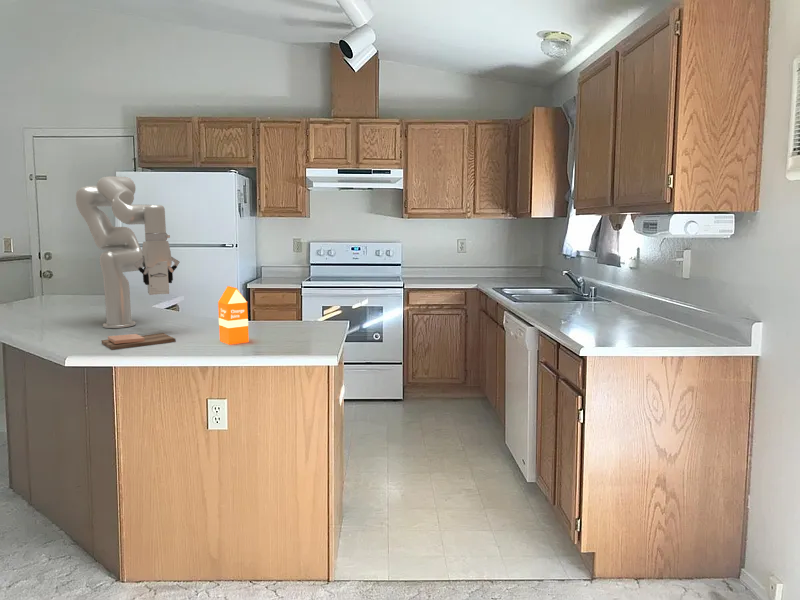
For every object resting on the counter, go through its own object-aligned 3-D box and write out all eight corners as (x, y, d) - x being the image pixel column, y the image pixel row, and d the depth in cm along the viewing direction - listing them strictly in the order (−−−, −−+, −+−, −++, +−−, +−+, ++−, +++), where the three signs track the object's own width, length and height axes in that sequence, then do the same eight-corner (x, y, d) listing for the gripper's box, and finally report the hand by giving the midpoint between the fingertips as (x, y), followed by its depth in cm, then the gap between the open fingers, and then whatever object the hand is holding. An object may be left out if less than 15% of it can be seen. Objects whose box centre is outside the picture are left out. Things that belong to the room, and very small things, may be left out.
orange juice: (228, 344, 239) (226, 288, 236) (219, 340, 246) (216, 286, 243) (249, 342, 243) (247, 287, 240) (239, 338, 250) (237, 284, 247)
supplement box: (149, 295, 254) (146, 262, 252) (147, 293, 261) (145, 260, 259) (169, 294, 257) (167, 261, 255) (167, 291, 264) (165, 259, 262)
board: (101, 343, 242) (101, 340, 242) (163, 336, 256) (162, 333, 255) (111, 349, 231) (111, 346, 231) (175, 341, 244) (175, 338, 244)
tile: (136, 333, 248) (136, 337, 248) (107, 336, 242) (107, 339, 242) (144, 337, 240) (144, 341, 240) (115, 340, 234) (115, 344, 234)
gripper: (175, 236, 263) (177, 281, 266) (129, 238, 253) (132, 284, 255) (182, 237, 257) (184, 282, 260) (135, 239, 247) (137, 286, 249)
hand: (158, 283), depth 257 cm, fingers closed on supplement box, 8 cm apart
